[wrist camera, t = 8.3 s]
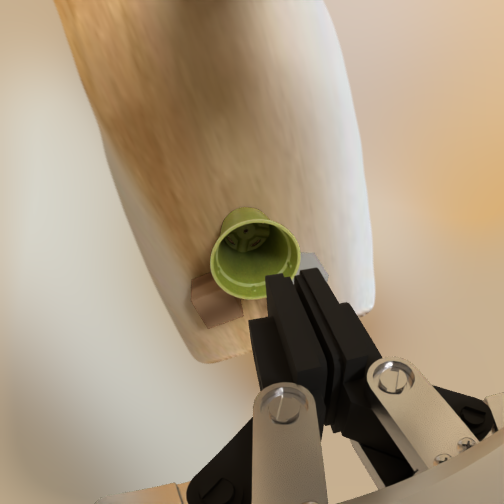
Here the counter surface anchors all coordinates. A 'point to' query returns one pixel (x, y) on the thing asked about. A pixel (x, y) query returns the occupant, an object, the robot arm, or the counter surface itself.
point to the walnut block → (214, 302)
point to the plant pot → (252, 253)
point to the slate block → (311, 264)
